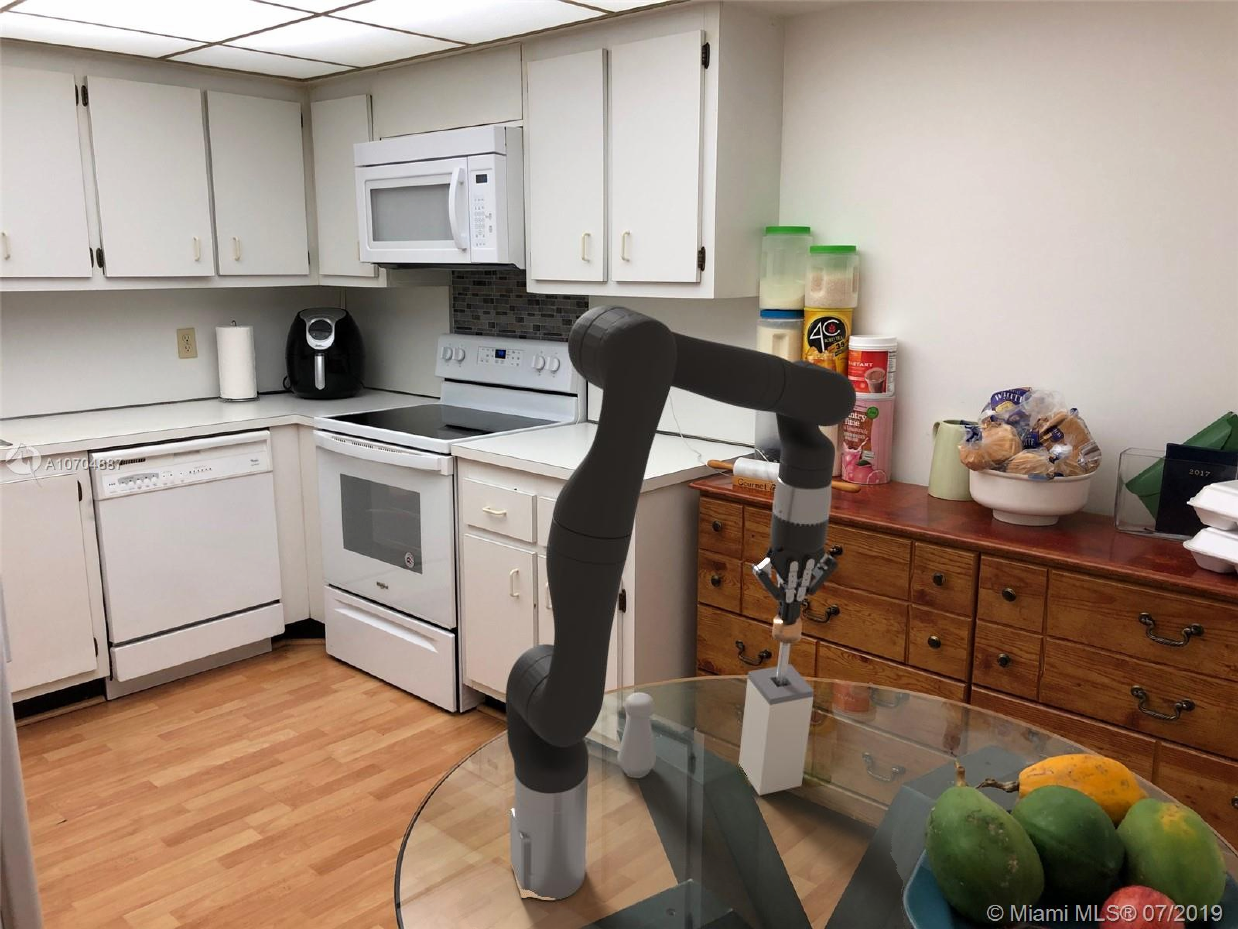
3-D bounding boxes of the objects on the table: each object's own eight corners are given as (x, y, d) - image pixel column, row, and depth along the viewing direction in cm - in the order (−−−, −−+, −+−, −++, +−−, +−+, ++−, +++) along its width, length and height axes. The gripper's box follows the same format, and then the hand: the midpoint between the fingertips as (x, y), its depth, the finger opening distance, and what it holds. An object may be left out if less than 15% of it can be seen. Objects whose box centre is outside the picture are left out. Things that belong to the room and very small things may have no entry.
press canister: (759, 795, 143) (770, 699, 137) (738, 765, 149) (748, 671, 143) (801, 786, 145) (814, 691, 139) (779, 756, 152) (790, 664, 145)
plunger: (769, 734, 141) (781, 631, 134) (755, 716, 145) (766, 615, 138) (796, 729, 142) (809, 626, 136) (782, 711, 146) (794, 611, 140)
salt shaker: (651, 786, 144) (656, 713, 139) (613, 779, 145) (616, 707, 140) (657, 760, 150) (662, 689, 145) (621, 754, 151) (624, 684, 146)
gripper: (770, 527, 125) (757, 642, 132) (858, 516, 129) (842, 628, 136) (744, 503, 132) (733, 614, 138) (829, 493, 136) (815, 601, 142)
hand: (787, 621), depth 137 cm, fingers closed
